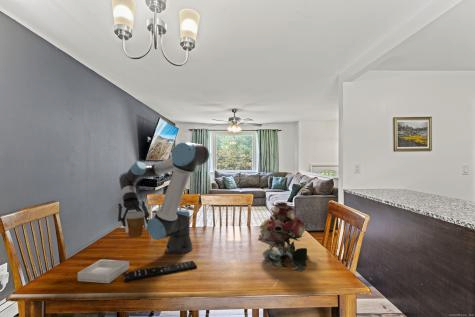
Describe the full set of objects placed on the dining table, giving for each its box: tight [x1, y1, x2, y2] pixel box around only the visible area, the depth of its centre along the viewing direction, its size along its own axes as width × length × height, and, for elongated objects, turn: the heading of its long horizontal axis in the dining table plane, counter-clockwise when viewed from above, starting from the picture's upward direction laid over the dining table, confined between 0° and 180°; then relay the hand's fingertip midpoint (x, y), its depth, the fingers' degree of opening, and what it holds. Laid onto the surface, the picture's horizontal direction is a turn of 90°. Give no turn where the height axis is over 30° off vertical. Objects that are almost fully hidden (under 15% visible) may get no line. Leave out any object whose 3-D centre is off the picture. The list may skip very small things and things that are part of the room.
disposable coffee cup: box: [125, 210, 145, 238], centre depth 131 cm, size 10×10×12 cm
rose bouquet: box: [257, 201, 308, 273], centre depth 132 cm, size 26×29×30 cm
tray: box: [77, 259, 130, 284], centre depth 114 cm, size 15×15×4 cm
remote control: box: [123, 260, 198, 283], centre depth 117 cm, size 8×32×2 cm, turn 116°
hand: (136, 230), depth 129 cm, fingers closed on disposable coffee cup, 8 cm apart
